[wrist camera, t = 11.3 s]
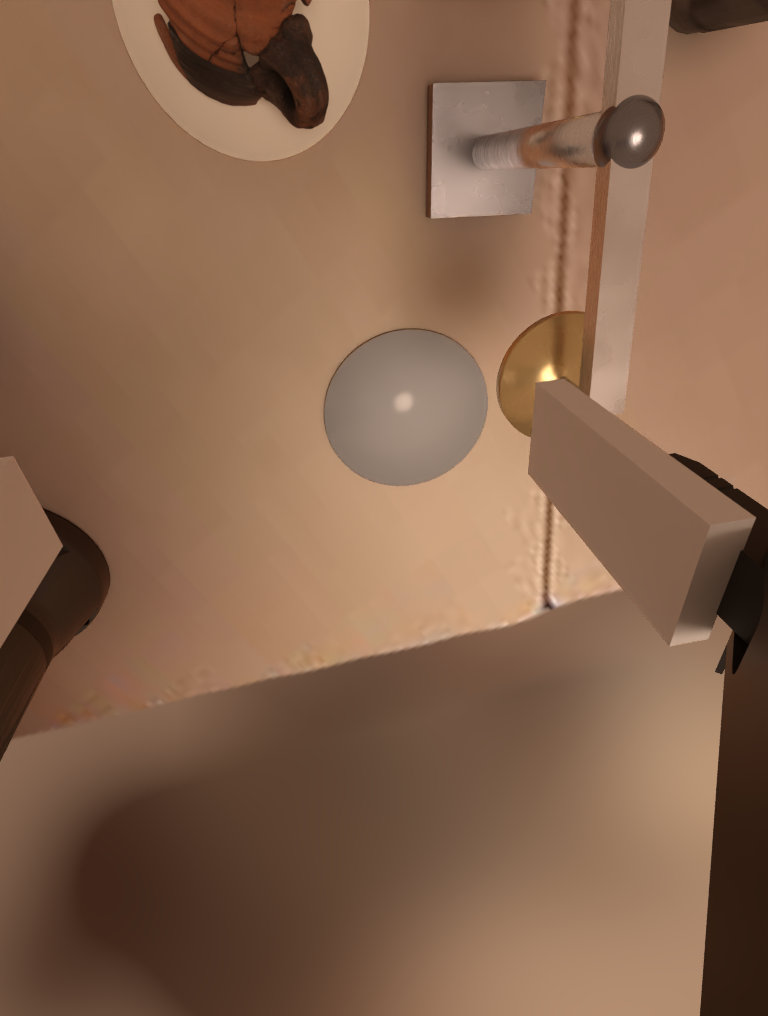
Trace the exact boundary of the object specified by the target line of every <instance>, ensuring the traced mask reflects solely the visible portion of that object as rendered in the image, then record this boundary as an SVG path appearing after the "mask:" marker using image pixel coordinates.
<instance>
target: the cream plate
mask: <svg viewBox="0 0 768 1016" xmlns="http://www.w3.org/2000/svg"><path fill="white" fill-rule="evenodd" d="M112 4H113V9H114V13H115V16H116V20H117V23H118V27H119V30H120V33H121V36H122V39H123V41H124V44H125V46H126V49H127V51H128V54H129V56H130V58H131V60H132V62H133V64H134V66H135V68H136V70H137V72H138V74H139V76H140V77H141V79H142V80H143V82H144V84H145V85H146V87H147V88H148V90H149V92H150V93H151V94H152V96H153V97H154V98H155V99H156V101H157V102H158V103H159V105H160V106H161V107H162V109H163V110H164V111H165V112H166V113H167V114H168V115H169V116H170V117H171V118H172V119H173V120H174V121H175V122H176V123H177V124H178V125H179V126H180V127H181V128H183V129H184V130H185V131H186V132H187V133H188V134H190V135H191V136H192V137H194V138H195V139H197V140H198V141H200V142H201V143H203V144H204V145H206V146H208V147H210V148H212V149H214V150H216V151H218V152H220V153H223V154H226V155H228V156H231V157H234V158H238V159H244V160H249V161H274V160H281V159H284V158H288V157H291V156H294V155H297V154H299V153H301V152H303V151H305V150H307V149H309V148H310V147H312V146H313V145H314V144H316V143H317V142H319V141H320V140H321V139H322V138H323V137H324V136H325V135H327V134H328V133H329V132H330V131H331V130H332V128H333V127H334V126H335V125H336V123H337V122H338V121H339V120H340V119H341V117H342V115H343V114H344V112H345V110H346V109H347V107H348V106H349V104H350V102H351V100H352V98H353V95H354V93H355V91H356V89H357V86H358V83H359V80H360V77H361V74H362V71H363V67H364V62H365V58H366V53H367V46H368V37H369V15H370V7H369V0H312V1H311V3H310V5H309V6H305V5H304V4H303V3H302V1H301V0H297V1H296V3H295V8H294V10H293V12H292V15H294V14H296V13H299V14H303V15H304V16H305V17H306V18H307V20H308V21H309V24H310V28H311V31H312V34H313V41H312V47H313V50H314V52H315V54H316V55H317V57H318V59H319V61H320V63H321V66H322V69H323V71H324V74H325V77H326V80H327V84H328V90H329V103H328V108H327V111H326V115H325V119H324V122H323V123H322V124H320V125H318V126H317V127H315V128H313V129H304V128H301V129H299V128H296V127H294V126H293V125H291V124H290V123H289V121H288V120H287V119H286V118H285V117H284V116H283V114H282V113H281V111H280V110H279V109H278V108H277V107H275V106H274V105H273V104H272V103H271V102H269V101H267V100H265V99H264V98H263V97H262V98H260V100H258V102H257V104H256V105H251V106H230V105H227V104H223V103H220V102H218V101H216V100H214V99H212V98H209V97H207V96H206V95H204V94H203V93H202V92H200V91H199V90H197V89H196V88H195V87H194V86H192V85H191V84H190V83H189V81H188V80H187V79H185V78H184V76H183V75H182V74H181V73H180V72H179V71H178V69H177V68H176V67H175V65H174V64H173V62H172V61H171V59H170V57H169V55H168V53H167V51H166V49H165V47H164V44H163V42H162V40H161V38H160V36H159V34H158V32H157V29H156V26H155V23H154V15H155V14H157V13H159V14H161V15H162V17H163V18H164V21H165V23H166V25H167V23H168V22H169V18H168V17H167V15H166V14H165V13H164V11H163V10H162V8H161V7H160V5H159V3H158V0H112ZM167 27H168V25H167ZM168 29H169V28H168ZM243 53H244V56H245V59H246V62H247V64H248V66H249V67H252V66H253V65H254V64H255V63H257V62H258V61H259V56H252V55H250V54H249V53H247V52H245V51H243Z"/></svg>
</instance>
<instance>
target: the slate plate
mask: <svg viewBox="0 0 768 1016" xmlns="http://www.w3.org/2000/svg"><path fill="white" fill-rule="evenodd" d="M487 409H488V396H487V388H486V384H485V380H484V377H483V375H482V372H481V370H480V368H479V366H478V365H477V363H476V362H475V360H474V359H473V358H472V356H471V355H470V354H469V353H468V352H467V351H466V350H465V349H464V348H463V347H462V346H461V345H459V344H458V343H457V342H455V341H453V340H452V339H450V338H448V337H446V336H444V335H442V334H439V333H436V332H432V331H429V330H421V329H402V330H395V331H391V332H388V333H384V334H381V335H379V336H377V337H374V338H372V339H370V340H369V341H367V342H365V343H363V344H362V345H360V346H359V347H358V348H357V349H355V350H354V351H353V352H352V353H351V354H350V355H349V356H348V357H347V358H346V359H345V360H344V361H343V362H342V364H341V365H340V366H339V368H338V369H337V371H336V373H335V374H334V376H333V378H332V380H331V383H330V385H329V388H328V391H327V395H326V399H325V407H324V421H325V427H326V432H327V435H328V438H329V441H330V443H331V445H332V447H333V449H334V451H335V453H336V454H337V455H338V457H339V458H340V459H341V460H342V462H343V463H344V464H345V465H346V466H347V467H349V468H350V469H351V470H352V471H353V472H355V473H357V474H358V475H360V476H361V477H363V478H366V479H368V480H370V481H373V482H376V483H379V484H385V485H392V486H408V485H414V484H420V483H423V482H427V481H429V480H432V479H435V478H437V477H439V476H441V475H443V474H445V473H446V472H448V471H449V470H451V469H452V468H454V467H455V466H456V465H457V464H458V463H460V462H461V461H462V460H463V459H464V458H465V457H466V455H467V454H468V453H469V452H470V451H471V449H472V448H473V447H474V445H475V443H476V442H477V440H478V438H479V436H480V434H481V432H482V429H483V427H484V423H485V420H486V415H487Z"/></svg>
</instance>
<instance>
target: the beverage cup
mask: <svg viewBox="0 0 768 1016" xmlns="http://www.w3.org/2000/svg"><path fill="white" fill-rule="evenodd" d="M764 21H768V0H672V2H671V10H670V19H669V25H670V26H671V27H672V28H673V29H675V30H676V31H677V32H680V33H684V34H691V33H697V32H702V33H705V32H710V31H716V30H721V29H726V28H732V27H737V26H742V25H748V24H753V23H759V22H764Z"/></svg>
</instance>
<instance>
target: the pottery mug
mask: <svg viewBox="0 0 768 1016" xmlns="http://www.w3.org/2000/svg"><path fill="white" fill-rule="evenodd" d="M296 1H297V0H158V3H159V5H160V7H161V8H162V10H163V11H164V13H165V14H166V15H167V17H168V18H169V22H168V23H167V25H168V27H167V25H166V23H165V21H164V18H163V17H162V15H161V14H159V13H157V14H155V15H154V23H155V26H156V29H157V32H158V34H159V36H160V38H161V40H162V42H163V44H164V47H165V49H166V51H167V53H168V55H169V57H170V59H171V61H172V62H173V64H174V65H175V67H176V68H177V69H178V71H179V72H180V73H181V74H182V75H183V76H184V78H185V79H187V80H188V81H189V83H190V84H191V85H192V86H194V87H195V88H196V89H197V90H199V91H200V92H202V93H203V94H204V95H206V96H207V97H209V98H212V99H214V100H216V101H218V102H220V103H223V104H227V105H230V106H251V105H256V104H257V102H258V100H260V98H262V97H263V98H264V99H265V100H267V101H269V102H271V103H272V104H273V105H274V106H275V107H277V108H278V109H279V110H280V111H281V113H282V114H283V116H284V117H285V118H286V119H287V120H288V121H289V123H290V124H291V125H293V126H294V127H296V128H299V129H301V128H304V129H313V128H315V127H317V126H318V125H320V124H322V123H323V122H324V119H325V115H326V111H327V108H328V103H329V90H328V84H327V80H326V77H325V74H324V71H323V69H322V66H321V63H320V61H319V59H318V57H317V55H316V54H315V52H314V50H313V47H312V41H313V34H312V31H311V28H310V24H309V21H308V20H307V18H306V17H305V16H304V15H303V14H299V13H296V14H294V15H292V12H293V10H294V8H295V3H296ZM301 1H302V3H303V4H304V5H305V6H309V5H310V3H311V1H312V0H301ZM168 28H169V29H168ZM243 51H245V52H247V53H249V54H250V55H252V56H259V61H258V62H257V63H255V64H254V65H253V66H252V67H249V66H248V64H247V62H246V59H245V56H244V53H243Z"/></svg>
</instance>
